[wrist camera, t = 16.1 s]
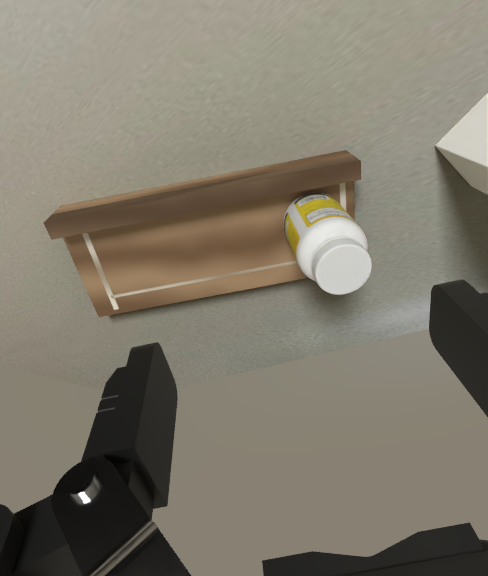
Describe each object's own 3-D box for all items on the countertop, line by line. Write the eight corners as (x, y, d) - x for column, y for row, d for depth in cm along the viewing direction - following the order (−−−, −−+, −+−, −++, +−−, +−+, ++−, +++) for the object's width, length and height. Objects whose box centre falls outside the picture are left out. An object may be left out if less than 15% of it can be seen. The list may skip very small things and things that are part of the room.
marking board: (60, 206, 35) (43, 222, 32) (345, 150, 35) (360, 160, 31) (103, 306, 41) (93, 329, 38) (350, 259, 40) (362, 278, 37)
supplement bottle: (314, 257, 37) (343, 315, 29) (270, 226, 36) (287, 279, 27) (354, 212, 35) (397, 262, 27) (310, 177, 34) (342, 219, 25)
